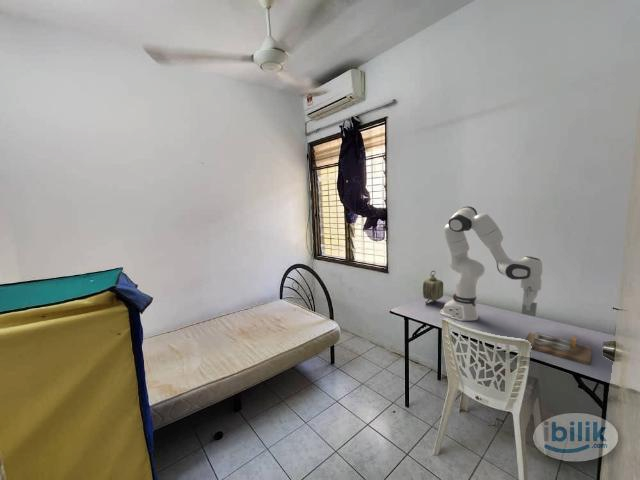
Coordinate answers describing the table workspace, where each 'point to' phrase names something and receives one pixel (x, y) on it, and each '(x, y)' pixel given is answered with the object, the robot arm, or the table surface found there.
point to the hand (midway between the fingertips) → (529, 309)
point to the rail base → (560, 348)
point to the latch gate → (573, 341)
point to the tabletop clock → (432, 289)
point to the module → (532, 311)
